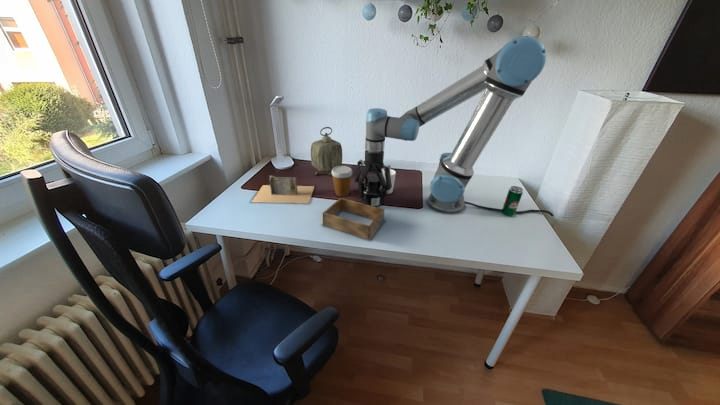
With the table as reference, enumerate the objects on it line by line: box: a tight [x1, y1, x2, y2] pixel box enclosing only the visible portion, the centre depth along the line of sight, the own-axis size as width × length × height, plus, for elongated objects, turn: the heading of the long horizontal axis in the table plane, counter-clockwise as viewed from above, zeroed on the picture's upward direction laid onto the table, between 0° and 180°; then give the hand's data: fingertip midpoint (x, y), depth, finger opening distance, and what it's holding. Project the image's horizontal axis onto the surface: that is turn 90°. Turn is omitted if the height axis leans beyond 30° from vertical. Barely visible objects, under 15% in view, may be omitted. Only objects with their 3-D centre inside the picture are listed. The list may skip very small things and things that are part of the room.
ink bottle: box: [361, 174, 382, 208], centre depth 116 cm, size 10×9×12 cm
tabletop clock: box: [310, 126, 343, 177], centre depth 138 cm, size 14×9×25 cm, turn 130°
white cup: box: [381, 168, 397, 195], centre depth 127 cm, size 8×8×10 cm
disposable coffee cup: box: [330, 165, 354, 198], centre depth 123 cm, size 10×10×12 cm
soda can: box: [501, 185, 524, 217], centre depth 111 cm, size 5×5×12 cm
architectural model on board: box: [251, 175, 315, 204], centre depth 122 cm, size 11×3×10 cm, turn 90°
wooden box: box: [322, 197, 385, 241], centre depth 104 cm, size 20×14×6 cm
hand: (371, 199), depth 118 cm, fingers closed on ink bottle, 9 cm apart
